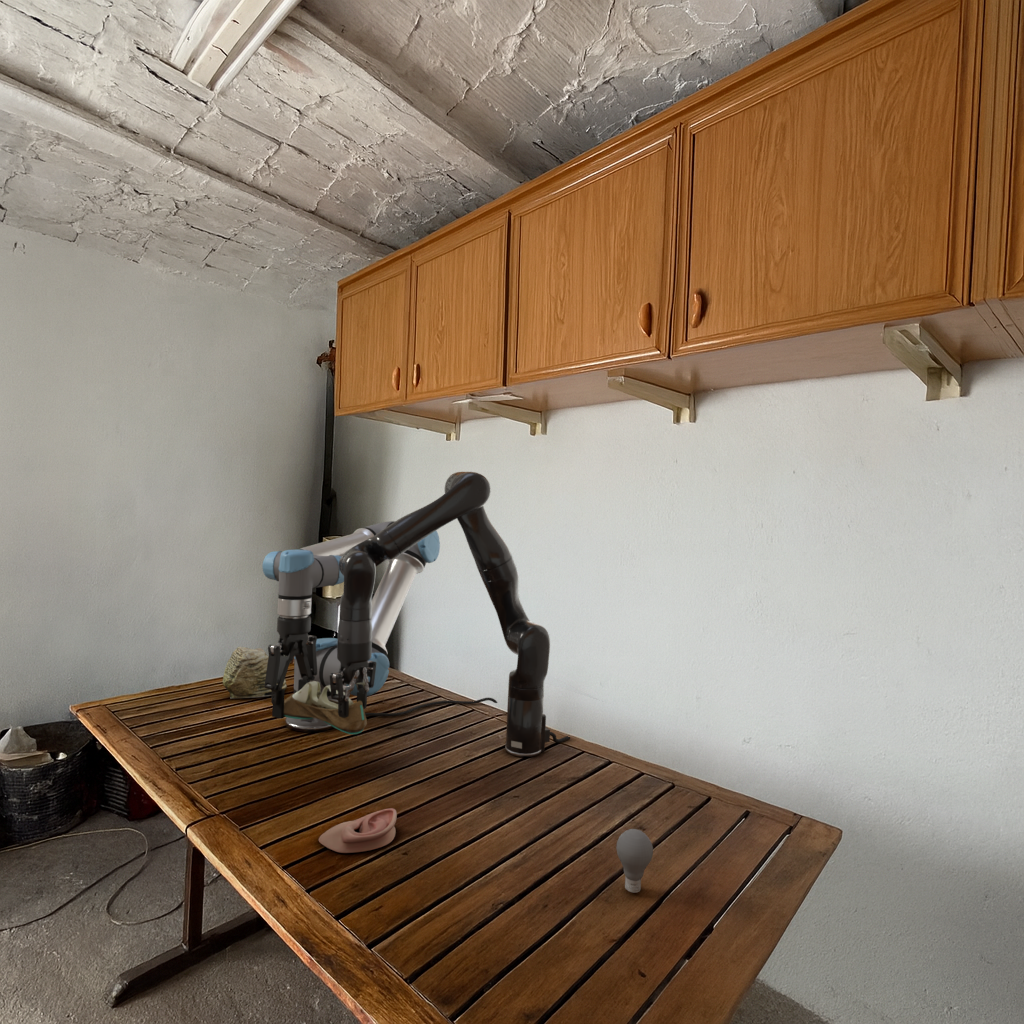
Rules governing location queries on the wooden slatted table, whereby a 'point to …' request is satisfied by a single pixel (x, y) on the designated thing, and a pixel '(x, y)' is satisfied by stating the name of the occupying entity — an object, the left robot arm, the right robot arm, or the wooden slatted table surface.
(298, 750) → the wooden slatted table surface
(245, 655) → the fossil
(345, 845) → the anatomical model
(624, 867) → the light bulb
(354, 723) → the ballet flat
